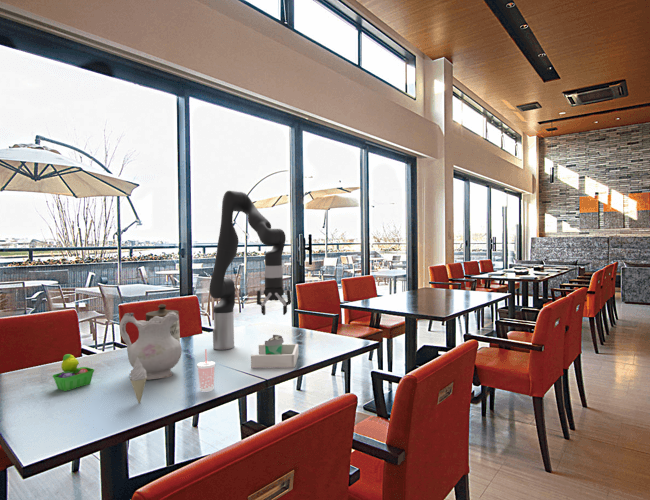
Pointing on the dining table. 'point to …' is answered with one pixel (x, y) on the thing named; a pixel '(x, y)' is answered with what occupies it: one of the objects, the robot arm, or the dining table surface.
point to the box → (276, 357)
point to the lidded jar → (161, 313)
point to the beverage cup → (206, 374)
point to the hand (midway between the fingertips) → (274, 314)
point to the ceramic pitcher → (153, 344)
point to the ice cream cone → (138, 379)
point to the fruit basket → (72, 374)
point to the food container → (274, 345)
